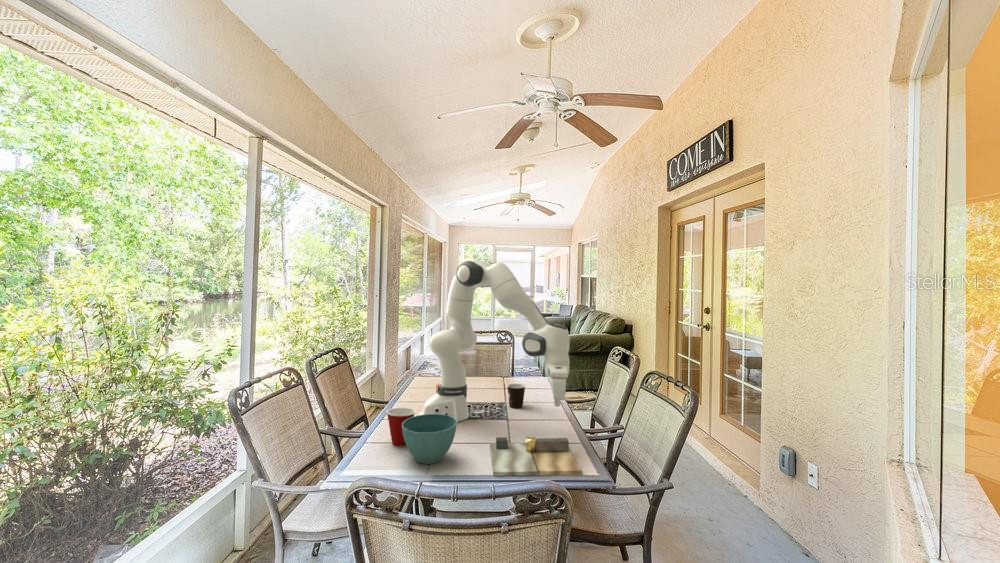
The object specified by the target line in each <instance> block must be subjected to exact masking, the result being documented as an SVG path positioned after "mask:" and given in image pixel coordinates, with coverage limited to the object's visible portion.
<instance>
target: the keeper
mask: <svg viewBox="0 0 1000 563" xmlns="http://www.w3.org/2000/svg"><path fill="white" fill-rule="evenodd" d="M495 443H496V449H508V443H509V440H508V437H507V436H506V437H504V436H503V437H502V436H501V437H495Z"/></svg>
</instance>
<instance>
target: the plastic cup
mask: <svg viewBox="0 0 1000 563" xmlns="http://www.w3.org/2000/svg"><path fill="white" fill-rule="evenodd" d="M416 412H417V410H416V409H414V408H410V407H393V408H389V409H387V410H386V411H385V414H386V415H387V420H388V427H389V432H390V438H391V443H392V445H394V446H398V447H399V446H406V443H405V440H404V436H403V430H402V423H403V422H404V421H405V420H407V419H409V418H411V417H414V416H415V414H416Z"/></svg>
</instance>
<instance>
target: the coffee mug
mask: <svg viewBox="0 0 1000 563" xmlns="http://www.w3.org/2000/svg"><path fill="white" fill-rule="evenodd" d="M525 389H526V385H525V384H522V383H510V384H507V394H508V395H507V396H508V407H509V408H511V409H515V410H516V409H518V410H519V409H522V408H523V406H524V398H525V392H526V390H525Z"/></svg>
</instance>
